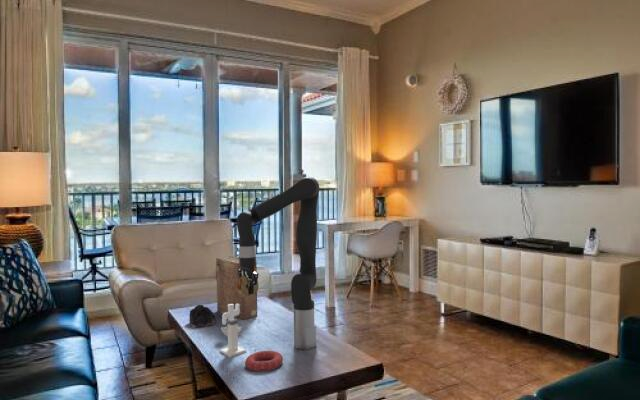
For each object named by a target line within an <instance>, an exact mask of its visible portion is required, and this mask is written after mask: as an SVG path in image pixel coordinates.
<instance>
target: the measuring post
mask: <svg viewBox="0 0 640 400" xmlns="http://www.w3.org/2000/svg"><path fill="white" fill-rule="evenodd" d="M238 321H239V320H238V319H237V318H234V319H230V320H228V319H227V320H226V325H227V326H228V336H227V346H228V347H225V348H221V349H219V352H220V353H221V354H223V355H225V356H227V357H229V358H232V357H235V356H238V355H242V354H244V353H247V349H245V348H243V347H241V346H239V344H238V343H239V339H238V338H239V337H238V336H239V334H238V327H237V326H238V325H239V324H238V323H239V322H238Z"/></svg>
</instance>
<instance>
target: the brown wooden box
mask: <svg viewBox="0 0 640 400" xmlns="http://www.w3.org/2000/svg"><path fill="white" fill-rule="evenodd" d="M257 264H258V263H257V261H256V266H254V270H255V272H256V273H258V271H257V270H258V265H257ZM215 265H216V303H217V304H216V307H217V308H216V309H217V312H219V313H222V314H223V313H226V312H228V304H234V310H235V305H236V304H239V305H240V313H239V315H237V316H234V318H235V319H240V320H242V321H245V320H250V319H253V318H256V317H258V292H257V293H256V294H255V295H253V296H251V297H242V296H240V295H239V294H238V292H237V282H238V279H239V275H238V270H240V269H241V267H240V266H239V257H235V256H228V257H225V258H216V259H215Z"/></svg>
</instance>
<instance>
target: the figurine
mask: <svg viewBox="0 0 640 400" xmlns="http://www.w3.org/2000/svg"><path fill="white" fill-rule="evenodd" d="M239 313H240V305H239V304H236V305H235V310H234V304H228V312H226V313H222V315H221V324H222V325H224V326H222V327H220V329H221V332H222V333H223V334H224V336H225V337H228V325H227V320H230V319H235V317H234V316H237V315H239ZM237 327H238V335H239V334H240V331H241V330H242V328H243V327H242V326H240V325H237Z"/></svg>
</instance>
